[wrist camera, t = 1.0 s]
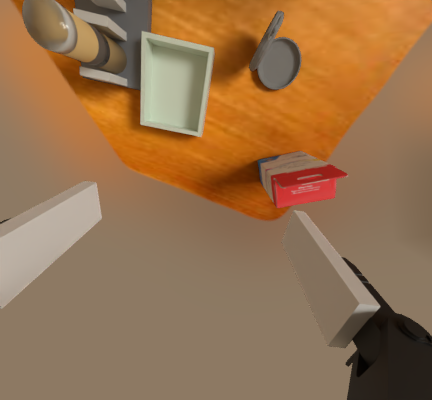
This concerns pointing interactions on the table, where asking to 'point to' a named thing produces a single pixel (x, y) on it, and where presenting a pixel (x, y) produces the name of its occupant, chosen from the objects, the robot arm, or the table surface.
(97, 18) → the fuse board
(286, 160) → the ink box
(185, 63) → the parts tray
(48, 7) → the cylinder
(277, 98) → the table surface
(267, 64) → the pocket watch
